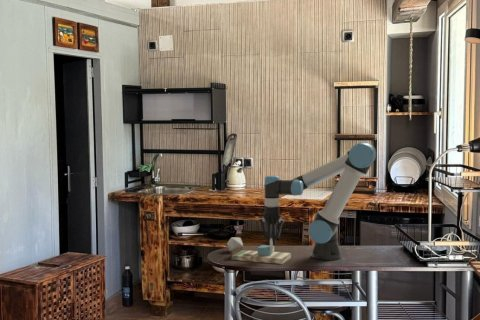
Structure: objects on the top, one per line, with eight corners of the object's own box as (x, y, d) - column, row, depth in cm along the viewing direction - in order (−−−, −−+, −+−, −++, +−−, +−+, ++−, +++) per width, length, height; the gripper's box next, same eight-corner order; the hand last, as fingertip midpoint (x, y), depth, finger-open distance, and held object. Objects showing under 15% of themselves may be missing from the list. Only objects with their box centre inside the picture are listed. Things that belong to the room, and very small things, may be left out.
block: (272, 253, 280) (272, 245, 280) (268, 255, 274) (268, 248, 274) (261, 252, 282) (261, 245, 282) (257, 255, 277) (257, 247, 276)
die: (245, 251, 299) (237, 236, 303) (245, 247, 292) (238, 231, 295) (232, 257, 298) (224, 242, 301) (232, 253, 290) (224, 237, 294)
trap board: (290, 257, 280) (290, 248, 280) (282, 263, 267) (282, 254, 267) (240, 253, 291) (240, 245, 291) (230, 259, 278) (230, 250, 278)
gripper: (286, 205, 276) (286, 251, 278) (262, 204, 281) (262, 249, 283) (281, 207, 270) (281, 254, 271) (257, 206, 274) (257, 252, 276)
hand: (272, 251), depth 277 cm, fingers closed
